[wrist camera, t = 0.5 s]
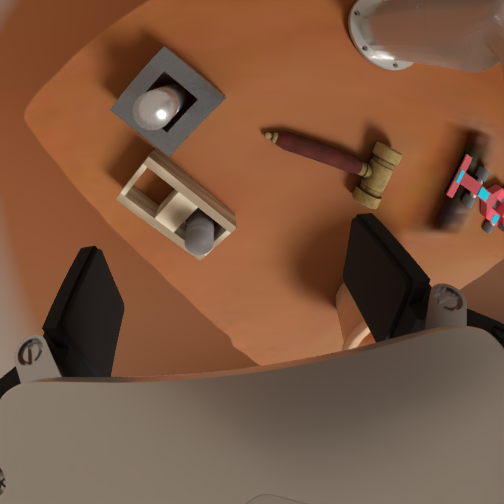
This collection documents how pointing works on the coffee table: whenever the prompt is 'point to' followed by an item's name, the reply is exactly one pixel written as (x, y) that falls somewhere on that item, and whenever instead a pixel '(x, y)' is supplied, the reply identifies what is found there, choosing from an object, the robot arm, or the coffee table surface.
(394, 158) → the gavel
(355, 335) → the pottery
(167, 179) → the rack
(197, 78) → the socket
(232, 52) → the coffee table surface
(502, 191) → the race car
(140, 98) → the silver metal cylinder
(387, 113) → the coffee table surface
